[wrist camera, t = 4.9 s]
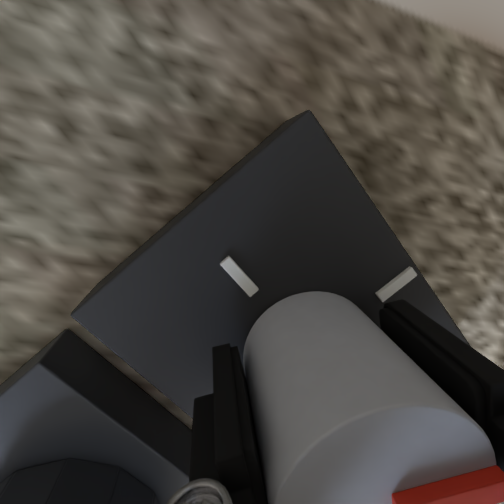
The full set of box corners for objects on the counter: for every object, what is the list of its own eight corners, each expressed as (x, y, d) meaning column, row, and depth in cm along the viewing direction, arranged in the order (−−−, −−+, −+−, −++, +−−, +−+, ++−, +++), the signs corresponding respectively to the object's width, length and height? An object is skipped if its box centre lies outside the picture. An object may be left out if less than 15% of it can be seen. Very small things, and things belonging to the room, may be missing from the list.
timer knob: (255, 420, 11) (294, 633, 6) (231, 307, 10) (255, 457, 5) (375, 390, 12) (506, 569, 7) (367, 277, 10) (520, 389, 5)
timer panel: (96, 284, 12) (65, 318, 9) (288, 119, 11) (311, 107, 9) (291, 461, 15) (308, 520, 13) (446, 343, 15) (497, 381, 12)
